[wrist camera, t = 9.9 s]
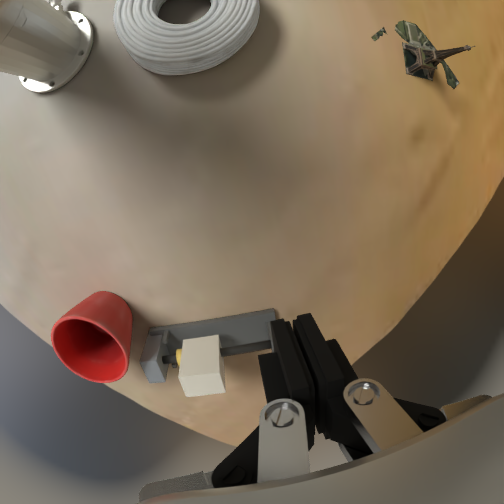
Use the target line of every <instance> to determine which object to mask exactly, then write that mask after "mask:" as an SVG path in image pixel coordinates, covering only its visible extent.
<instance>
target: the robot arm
mask: <svg viewBox="0 0 504 504" xmlns="http://www.w3.org/2000/svg"><path fill="white" fill-rule="evenodd" d="M93 35H94V34H93V28H92V25H91V23H90V21H89V20H88V19H87V18H86V17H85V16H84V15H83V14H81V13H78V12H74V11H63V6H62V5H61V0H49V3H48V2H46V1H45V0H0V72H4V73H8V74H12V75H16V76H19V78H20V81H21V83H22V84H23V86H24V87H26V88H27V89H28V90H30V91H32V92H37V93H46V92H51V91H54V90H56V89H58V88H60V87H62V86H63V85H65V84H66V83H67V82H69V81H70V80H71V79H72V78H73V77H74V76H75V75H76V74H77V73H78V72H79V70H80V69H81V68H82V66H83V65H84V63H85V61H86V60H87V58H88V56H89V53H90V51H91V48H92V44H93ZM270 325H271V332H272V340H273V347H274V352H273V353H267V354H262V355H258V359H259V364H260V370H261V375H262V380H263V385H264V390H265V395H266V400H267V405H265V406H264V407H263V409H262V410H261V413H260V422H259V426H258V427H257V428H256V429H255V430H254V431H253V432H252V433H251V434H250V435H249V436H248V437H247V438H246V439H245V440H244V441H243V442H242V443H241V444H240V445H239V446H238V447H237V448H236V449H235V450H234V451H233V452H232V453H231V454H230V455H229V456H228V457H227V458H225V459H224V460H223V461H222V462H221V463H220V464H219V465H218V466H217V467H216V468H215V470H214V471H211V472H208V473H204V472H203V471H202V472H198V473H194V474H190V475H185V476H181V477H176V478H172V479H167V480H162V481H156V482H152V483H149V484H146V485H145V486H144V487H143V488H142V489H141V491H140V493H139V503H137V504H504V393H503V394H500V395H497V396H494V397H491V396H489V395H479V396H476V397H473V398H470V399H467V400H463V401H460V402H456V403H453V404H449V405H445V406H443V407H442V409H437V408H434V407H429V406H425V405H421V404H417V403H413V402H409V401H404V400H400V399H397V398H393V397H392V396H391V395H390V394H389V393H388V392H387V391H386V390H385V388H384V387H383V386H382V385H381V384H380V383H378V382H377V381H375V380H372V379H366V378H365V379H358V377H357V375H356V373H355V372H354V370H353V368H352V366H351V365H350V363H349V361H348V359H347V358H346V356H345V354H344V352H343V351H342V349H341V347H340V345H339V344H338V342H337V341H336V339H332V340H328V341H325V339H324V337H323V335H322V333H321V332H320V330H319V328H318V326H317V324H316V322H315V320H314V318H313V317H312V315H311V313H308V314H303V315H298V316H297V319H296V320H293V329H292V327H291V324H290V322H289V321H286V322H285V321H284V319H278V320H273V321H270ZM293 331H294V332H293ZM315 425H316V428H317V431H318V433H319V434H320V433H323V434H324V436H325V439H331V440H333V441H336V442H338V444H339V447H340V449H341V451H342V452H343V454H344V456H345V457H346V459H347V461H348V463H344V464H341V465H338V466H334V467H331V468H328V469H324V470H320V471H316V472H312V473H310V463H309V453H308V452H309V450H310V449H311V448H312V446H313V445H314V435H315Z"/></svg>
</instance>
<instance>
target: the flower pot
mask: <svg viewBox="0 0 504 504" xmlns="http://www.w3.org/2000/svg"><path fill="white" fill-rule="evenodd" d="M132 321H133V317H132V313H131V310H130V308H129V306H128V305H127V304H126V302H125V301H124V300H123V299H122V298H120V297H119V296H117V295H116V294H113V293H111V292H106V291H100V292H96V293H94V294H92V295H91V296H89V297H88V298H86V299H85V300H83V301H82V302H80V303H79V304H78V305H76V306H75V307H74V308H72V309H71V310H70V311H68V312H67V313H66V314H65V315H63V316H62V317H61V318H60V319H59V320H58V321H57V322H56V323H55V324H54V326H53V328H52V332H51V341H52V345H53V348H54V350H55V352H56V354H57V356H58V357H59V359H60V360H61V361H62V362H63V363H64V365H65V366H66V367H68V368H69V369H70V370H71V371H72V372H74V373H76V374H77V375H79V376H80V377H82V378H84V379H87V380H90V381H93V382H98V383H110V382H114V381H117V380H119V379H121V378H122V377H123V376H124V375H125V374H126V372H127V370H128V366H129V356H130V345H131V335H132Z"/></svg>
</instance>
